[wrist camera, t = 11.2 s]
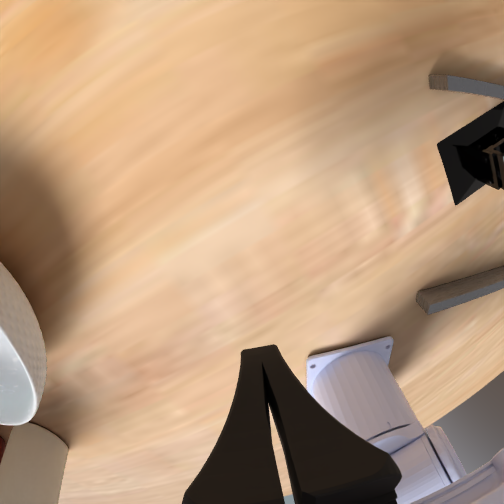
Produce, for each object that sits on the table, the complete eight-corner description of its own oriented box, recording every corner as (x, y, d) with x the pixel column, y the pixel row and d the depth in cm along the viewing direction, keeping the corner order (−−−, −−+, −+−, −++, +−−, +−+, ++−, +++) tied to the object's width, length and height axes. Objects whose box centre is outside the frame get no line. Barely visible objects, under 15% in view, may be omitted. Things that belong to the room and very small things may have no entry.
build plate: (507, 85, 17) (547, 92, 13) (523, 159, 21) (559, 173, 16) (413, 142, 19) (456, 156, 15) (439, 224, 22) (476, 250, 18)
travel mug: (4, 414, 27) (-31, 531, 11) (53, 424, 27) (25, 558, 11) (31, 447, 30) (8, 551, 14) (78, 456, 31) (62, 572, 15)
